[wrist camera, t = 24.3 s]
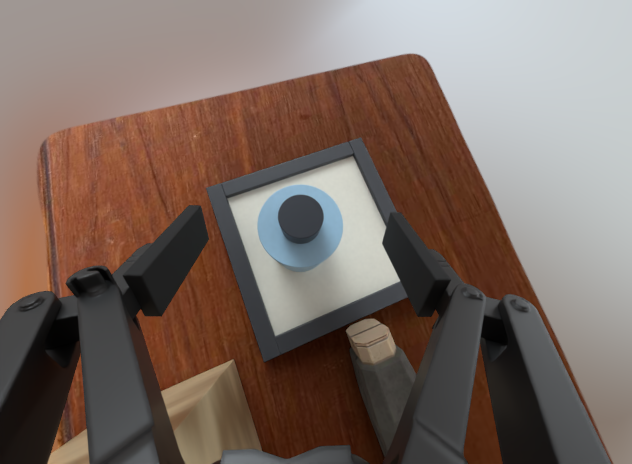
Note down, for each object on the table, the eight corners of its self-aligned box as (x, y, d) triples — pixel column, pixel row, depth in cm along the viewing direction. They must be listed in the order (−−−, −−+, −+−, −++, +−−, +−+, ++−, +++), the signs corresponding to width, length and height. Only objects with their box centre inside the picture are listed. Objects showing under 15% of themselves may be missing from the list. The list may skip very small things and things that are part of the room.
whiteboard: (212, 194, 25) (205, 187, 23) (357, 146, 28) (361, 137, 26) (266, 355, 22) (263, 362, 20) (423, 285, 25) (432, 285, 23)
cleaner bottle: (265, 229, 24) (237, 188, 13) (315, 211, 24) (327, 158, 14) (284, 280, 23) (270, 282, 12) (335, 259, 23) (365, 243, 13)
